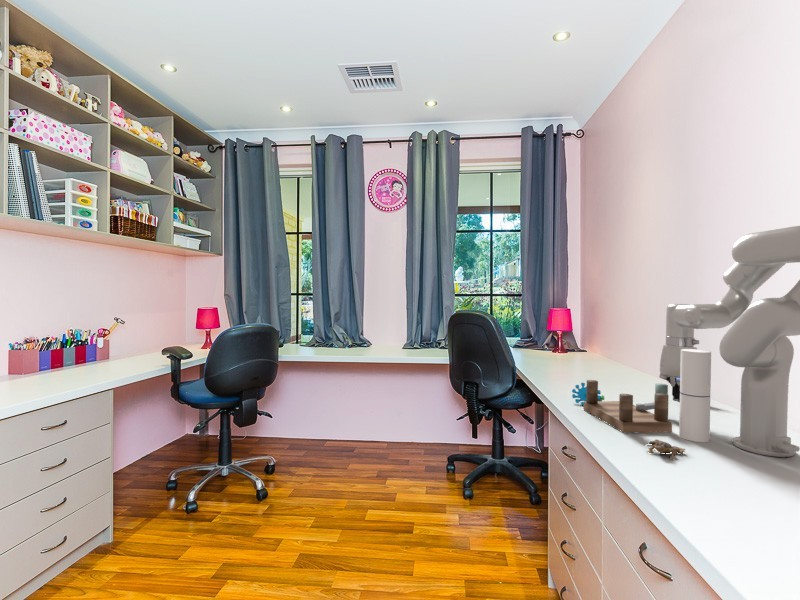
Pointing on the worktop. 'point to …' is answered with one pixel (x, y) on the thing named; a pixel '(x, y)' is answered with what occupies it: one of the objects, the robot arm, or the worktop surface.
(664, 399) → the stool seat
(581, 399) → the blue spiky piece
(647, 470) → the worktop surface
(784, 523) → the worktop surface
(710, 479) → the worktop surface
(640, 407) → the swing leg
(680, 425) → the cylindrical container
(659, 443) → the frog figurine
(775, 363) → the robot arm
